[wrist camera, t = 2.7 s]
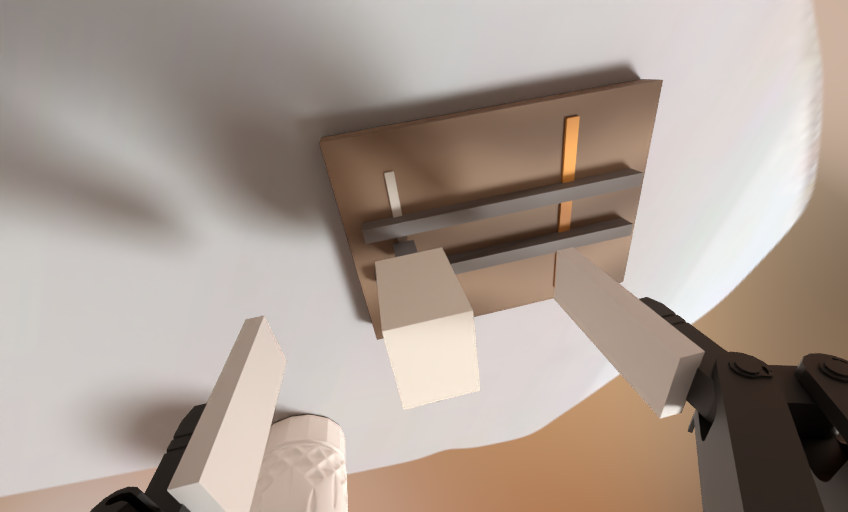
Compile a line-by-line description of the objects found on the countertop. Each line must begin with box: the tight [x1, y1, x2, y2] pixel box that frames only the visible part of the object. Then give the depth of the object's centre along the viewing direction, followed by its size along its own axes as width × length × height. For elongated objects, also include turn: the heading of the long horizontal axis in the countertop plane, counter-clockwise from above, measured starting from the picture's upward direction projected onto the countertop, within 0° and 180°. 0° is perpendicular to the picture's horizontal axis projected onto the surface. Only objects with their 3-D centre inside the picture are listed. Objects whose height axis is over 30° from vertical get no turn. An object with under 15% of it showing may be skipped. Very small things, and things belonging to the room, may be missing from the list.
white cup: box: [249, 415, 348, 512], centre depth 24 cm, size 8×8×10 cm
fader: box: [375, 240, 480, 410], centre depth 15 cm, size 4×3×8 cm
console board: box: [319, 79, 663, 340], centre depth 20 cm, size 13×18×2 cm
